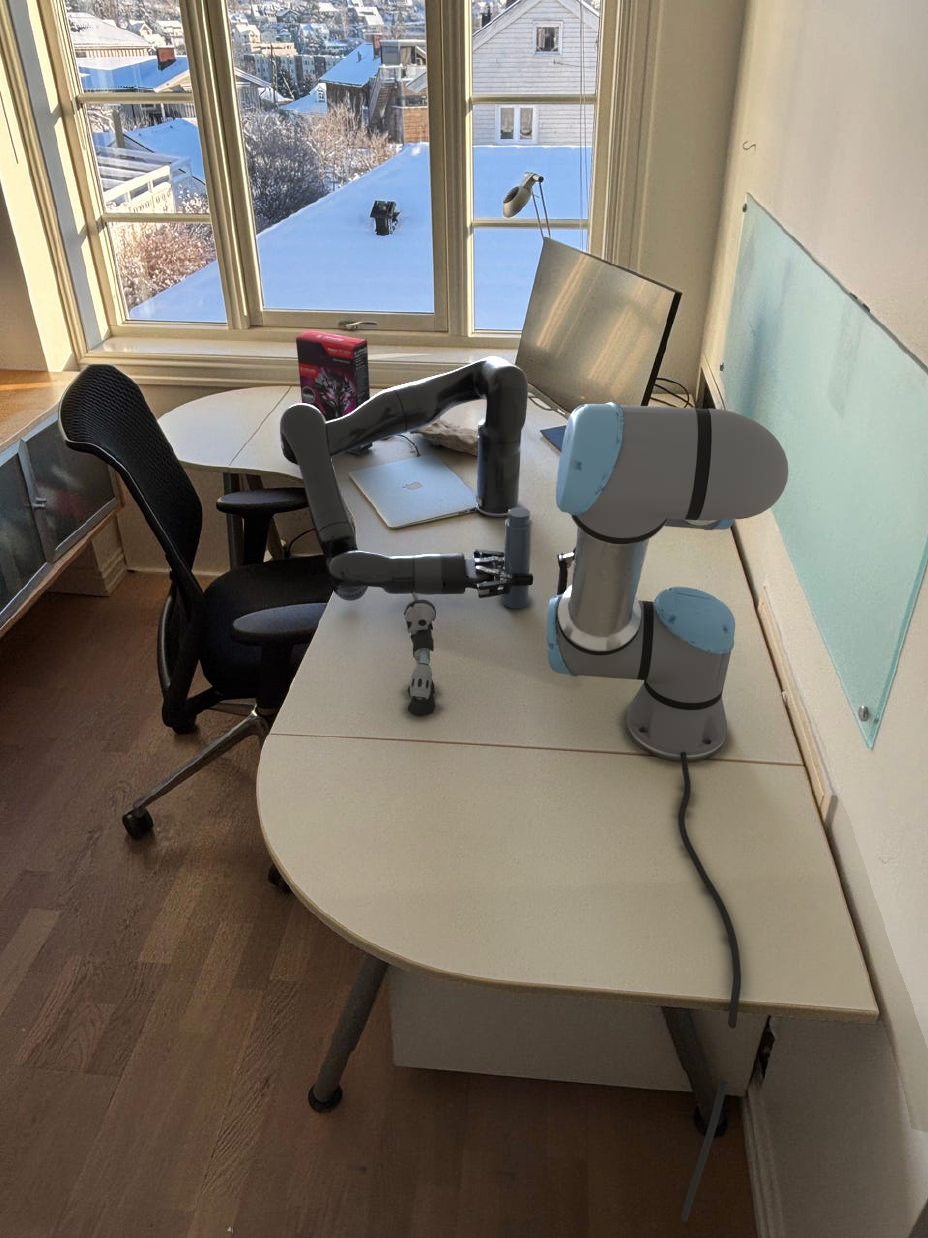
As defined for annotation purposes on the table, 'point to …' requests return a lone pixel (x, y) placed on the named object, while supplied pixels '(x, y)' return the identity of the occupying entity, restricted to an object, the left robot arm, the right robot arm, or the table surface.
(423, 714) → the robot
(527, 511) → the blue-grey bottle
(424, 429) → the stone
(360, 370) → the graphics card box
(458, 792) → the table surface
